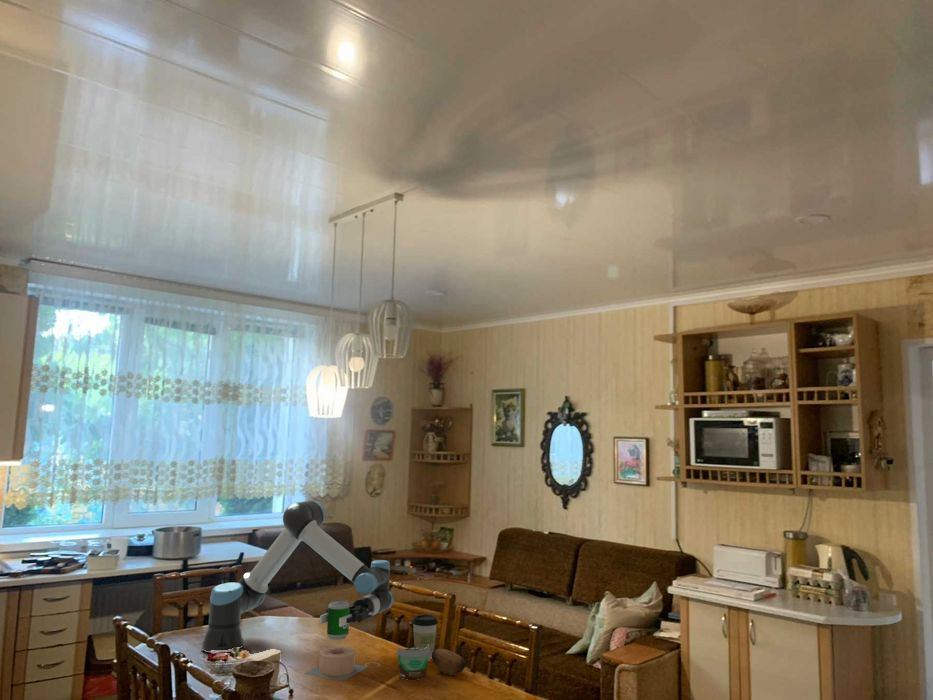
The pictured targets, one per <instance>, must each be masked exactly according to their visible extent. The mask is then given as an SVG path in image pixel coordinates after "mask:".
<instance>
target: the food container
mask: <svg viewBox="0 0 933 700" xmlns="http://www.w3.org/2000/svg"><path fill="white" fill-rule="evenodd" d="M395 653H396V655H397V656H398V674H399V675H398V678H400V677H401V678H404V679H408V680H407V681H409V680H416V681H418V680H417V679H421V680H423V679H425V678H426V677H427V667H428V661H427V660H428V654H429V653H430V647H429V644H427V646H425V647H415V646H412V647H408V648H405V649H403V648H401V647H399V646H398V647H397V649H396V652H395ZM424 677H425V678H424ZM401 678H400V679H401ZM422 678H423V679H422ZM404 679H403V680H404Z"/></svg>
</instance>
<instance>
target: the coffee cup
mask: <svg viewBox="0 0 933 700" xmlns="http://www.w3.org/2000/svg"><path fill="white" fill-rule="evenodd" d="M411 623H412V624H413V631H412V632H413V640H414V641H413V643H414V647H425V646H427V644H429V647H430V653H429V654H428V660H427V662H430V661H429V660H430V659H432V658H431V657H432V652H433V651H434V650H435V643H436V638H437V637H436V635H437V627H438V626H437V625H438V624H439V621H438V620H437V616H436V615H433V614H417V615H414V617H413V620H412V622H411Z"/></svg>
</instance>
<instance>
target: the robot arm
mask: <svg viewBox="0 0 933 700" xmlns="http://www.w3.org/2000/svg"><path fill="white" fill-rule="evenodd" d="M284 510H285V511H284V512H283V515H282V522H283V525H284V529H283V530H282V531H281V532H280V534H278V537H276V539H275V540H274V542H273V543H272V544H271V545H270V547H269V548H268V549H267V551H266V552H265V553H264V554H263V556H262V557H261V558H260V560H259V561H258V562H257V563H256V565H255V566H254V567H253V569H252V570H251V571H247V572H245V573H244V574H243V576H242V577H241V578H240V580H239V581H238V582H235V581H234V582H225V583H221V584H218V585H215V586H214V587H213V588H212V589H211V592H210V598H209V613H208V628H207V631H206V633H205V636H204V638H203V639H204V640H203V641H202V644H201V650H202V649H204V650H206V651H211V650H228V649H232V648H234V647H241V646H243V647H244V638H243V635H242V630H241V616H242V615H243V614H245V613H247V612H250V611H253V610H255V609H256V608H258V607H259V606H260V605H262V604H263V602H264V600H265V597H266V593H267V592H268V590H269V586H268V584H269V583H270V582H271V581H272V579H273V578H274V577H275V575H276V574H277V573H278V572H279V570H280V569H281V567H282V566H283V565H284V564H285V563H286V561H287V560H288V559H289V557H290V556H291V555H292V553H293V552H294V551H295V549H296V548H297V547H298V546H299V544H300V543H301V542H304V543H305V544H306V545H308V546H309V547H310V548H311V549H312V550H314V552H316V553H317V554H318V555H320V556H321V557H322V558H323V559H324V560H325V561H327V562H328V563H329V564H330V565H331V566H333V568H335V569H336V570H337V571H338V572H339V573H341V574H342V575H343V576H345V578H347V579H348V580H349V581H351V582H352V583H353V585H354V588H355V590H356V592H357V593H359V594H360V595H366V596H363V597H360V598H358V599H356V600H355V601H354V602H353V604H350V611H349V615H347V616H344V617H342V618H339V627H342V626H344V625H347V624H349V625H350V624H351V623H356V622H357V623H359V624H360V623H362V622H363V621H365V620H367V619H370V618H372V617H373V616H375V615H378V614H380V613H383V612H385V611H387V610H389V609H391V607H392V606H393V604H394V601H395V600H394V595H393V593H392V592H391V591H390V577H391V575H390V574H391V565H390V564H391V563H390V561H389V560H385V559H376V560H373V561H371V563H370V568H369V567H368V566H366V565H365V563H364V562H362V561H361V560H360V559H359V558H357V557H356V556H355V555H353V554H352V553H351V552H350V551H349V550H347V549H346V548H345V547H344V546H342V545H341V544H340V543H339V542H337V541H336V540H335V539H334V538H333V537H332V536H330V534H328V533H327V532H326V531H325V530H324V529H323V528H321V526H322V525H323V524H324V522H325V519H326V516H327V515H326V510H325V508H324V506H323V504H321V503H320V502H318V501H317V500H310V499H309V500H306V501H305V500H304V501H298V502H294V503H292V504H290V505H288V506H287V507H286V509H284ZM325 623H328V609H326V610H325V613H324V614H321V615H319V624H320V625H323V624H325Z"/></svg>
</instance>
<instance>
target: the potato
mask: <svg viewBox="0 0 933 700" xmlns="http://www.w3.org/2000/svg"><path fill="white" fill-rule="evenodd" d="M431 661H432V662H433V664H434V666H435V667H436V668H437V669H438V670H439V671H441V672H442V674H445V675H449V674H451V675H450V676H453V675H454V674H455V675H458V674H460V673H462V672H463V671H464V670H465V668H466V660H465V659H464V658H463V657H462V656H460V655H459V654H457V653H455V652H453V651H451V650H448V649H444V648H441V647H439V648H434V650H433V652H432V660H431Z"/></svg>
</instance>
